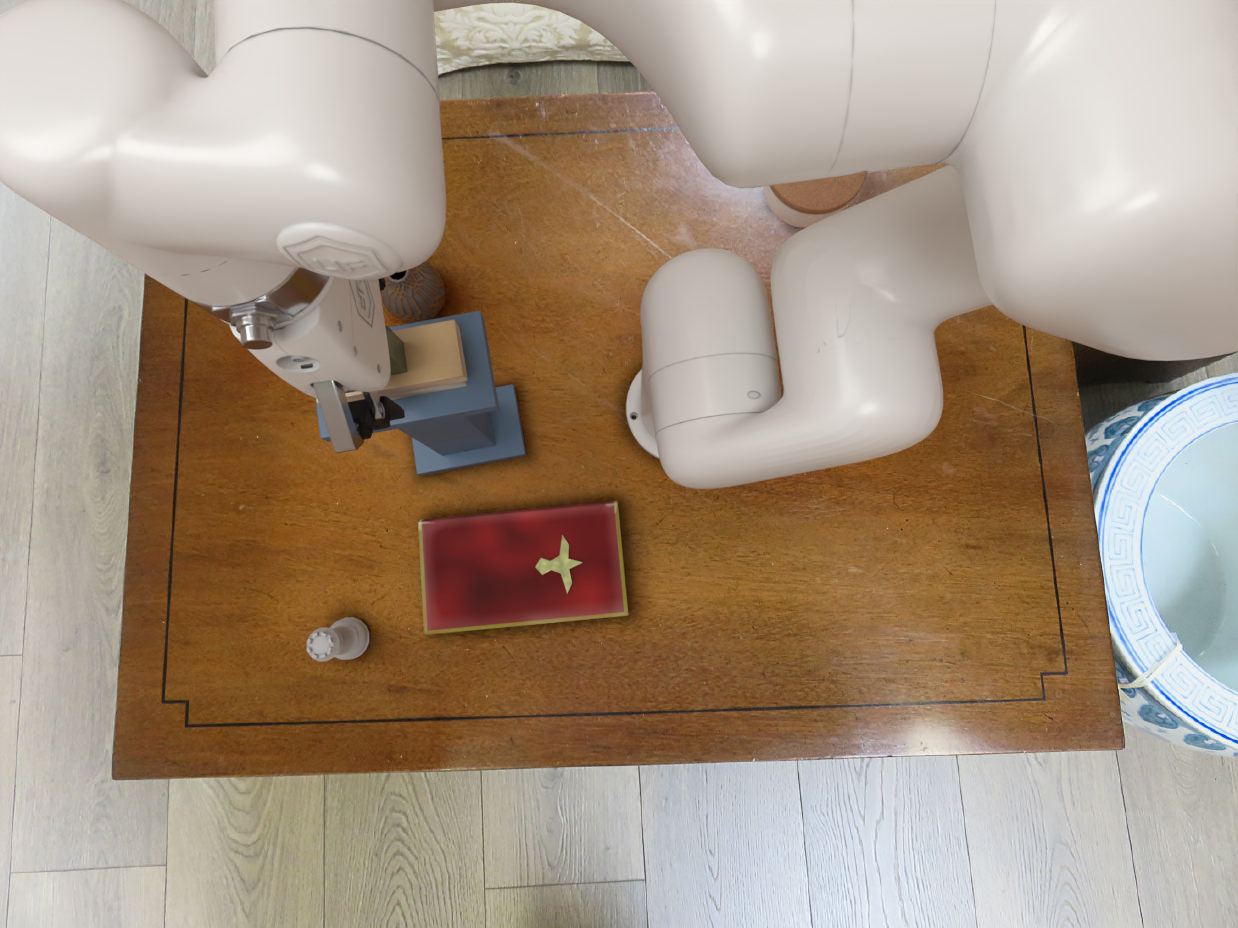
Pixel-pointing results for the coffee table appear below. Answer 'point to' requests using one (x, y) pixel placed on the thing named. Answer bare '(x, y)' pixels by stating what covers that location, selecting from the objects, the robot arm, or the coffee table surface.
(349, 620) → the rook chess piece
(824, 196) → the trinket box
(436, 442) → the stand
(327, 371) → the robot arm
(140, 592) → the coffee table surface
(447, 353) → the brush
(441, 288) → the vase
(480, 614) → the hardcover book
